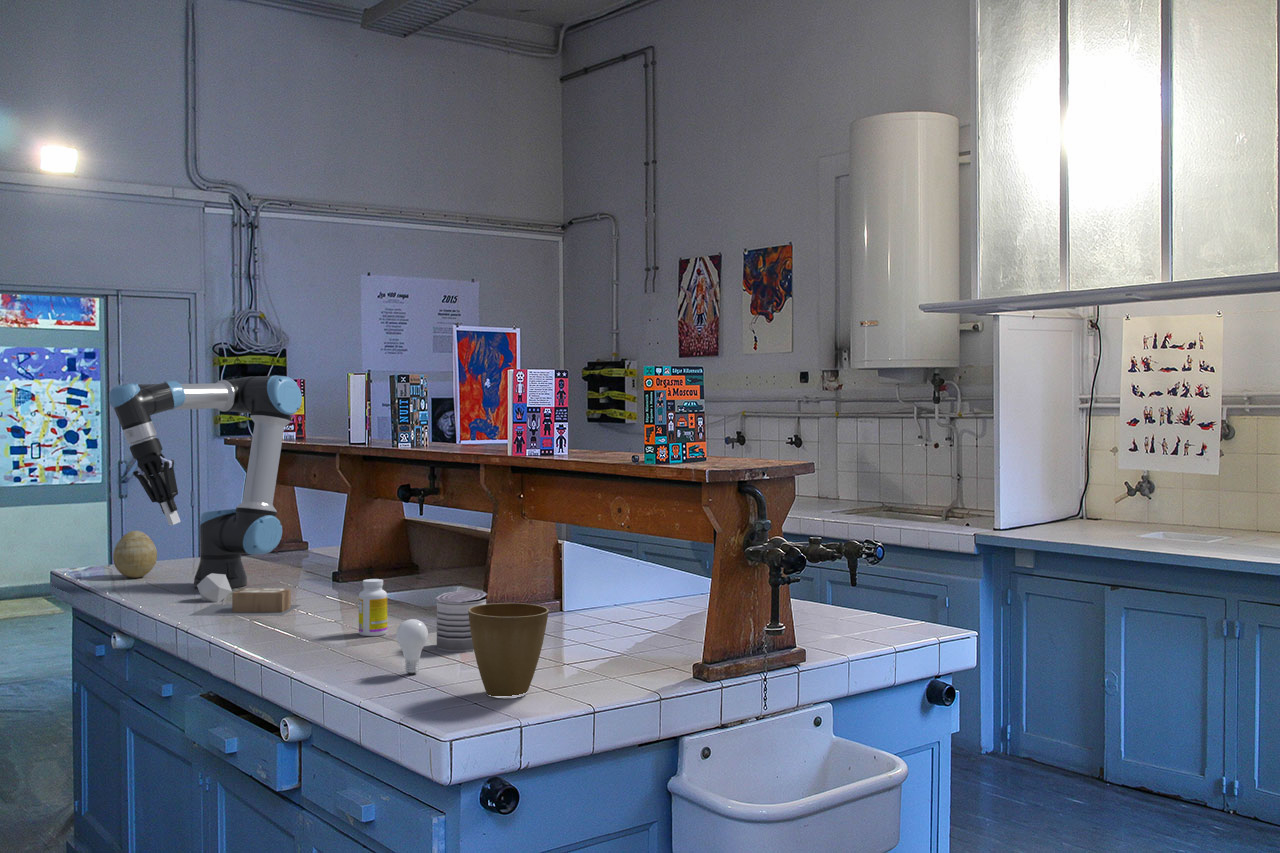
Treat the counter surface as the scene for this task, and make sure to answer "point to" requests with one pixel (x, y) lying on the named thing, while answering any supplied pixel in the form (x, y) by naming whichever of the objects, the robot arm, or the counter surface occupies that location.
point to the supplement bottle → (372, 608)
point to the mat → (227, 611)
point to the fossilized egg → (135, 554)
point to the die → (214, 588)
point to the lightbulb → (412, 642)
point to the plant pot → (507, 644)
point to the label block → (261, 600)
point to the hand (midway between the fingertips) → (175, 523)
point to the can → (456, 619)
